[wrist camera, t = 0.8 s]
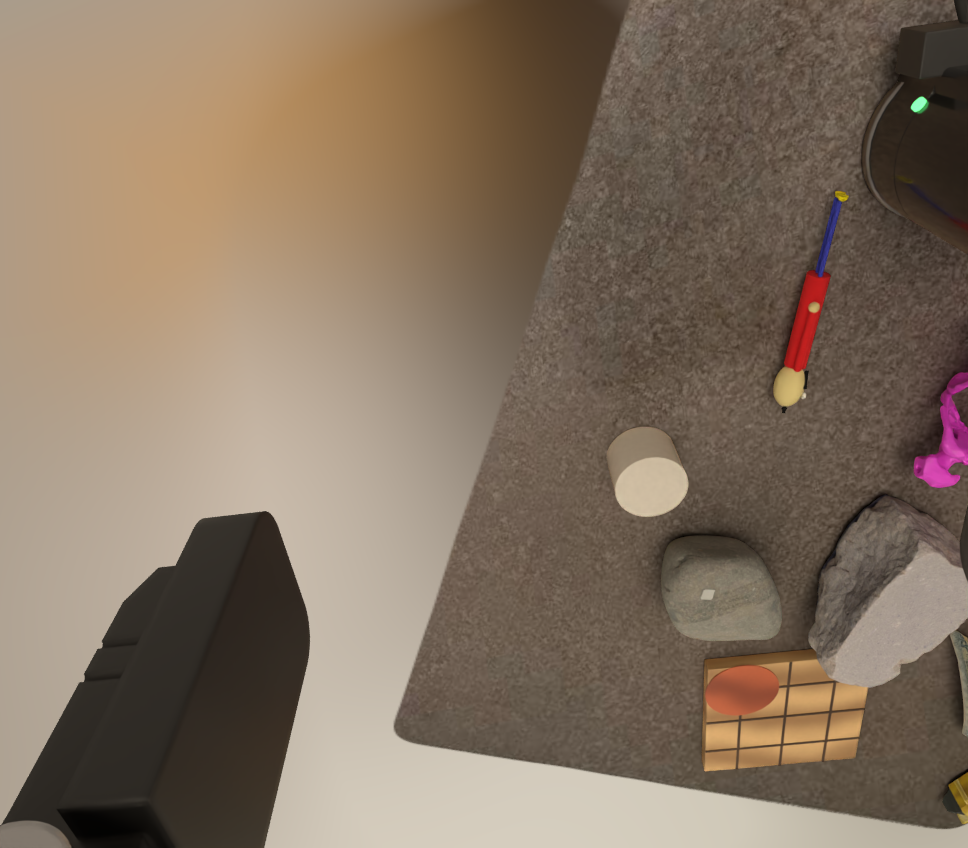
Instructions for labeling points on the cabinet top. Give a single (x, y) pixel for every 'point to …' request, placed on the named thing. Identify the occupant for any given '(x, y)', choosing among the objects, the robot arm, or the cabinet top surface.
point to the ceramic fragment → (962, 670)
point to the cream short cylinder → (646, 472)
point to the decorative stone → (887, 594)
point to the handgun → (958, 798)
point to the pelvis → (946, 441)
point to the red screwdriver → (806, 321)
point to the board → (777, 711)
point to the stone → (719, 590)
